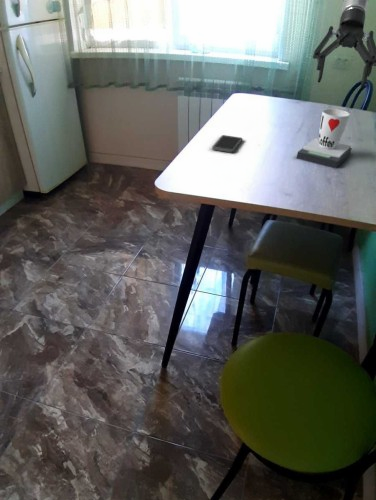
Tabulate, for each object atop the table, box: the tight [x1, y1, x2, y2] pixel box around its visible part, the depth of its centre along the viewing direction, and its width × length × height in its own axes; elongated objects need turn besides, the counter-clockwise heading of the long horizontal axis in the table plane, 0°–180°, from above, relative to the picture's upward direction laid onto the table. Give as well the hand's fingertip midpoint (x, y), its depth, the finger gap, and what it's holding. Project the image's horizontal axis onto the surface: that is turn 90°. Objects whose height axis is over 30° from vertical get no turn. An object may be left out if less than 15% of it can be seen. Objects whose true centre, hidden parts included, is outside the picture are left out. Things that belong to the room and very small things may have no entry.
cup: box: [318, 108, 351, 149], centre depth 129 cm, size 8×8×10 cm
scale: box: [296, 137, 353, 169], centre depth 133 cm, size 13×15×3 cm
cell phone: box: [211, 134, 243, 154], centre depth 137 cm, size 7×14×1 cm, turn 162°
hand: (341, 82), depth 129 cm, fingers open, 13 cm apart
